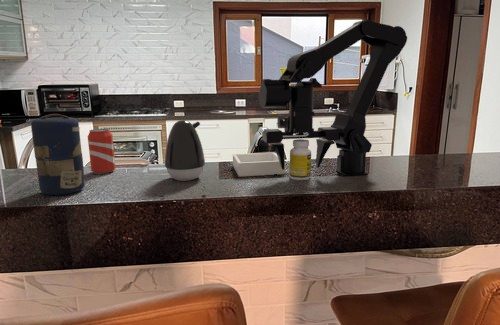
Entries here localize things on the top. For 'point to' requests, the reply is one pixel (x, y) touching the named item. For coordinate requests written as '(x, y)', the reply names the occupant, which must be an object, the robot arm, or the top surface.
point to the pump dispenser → (184, 152)
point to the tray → (257, 164)
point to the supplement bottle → (300, 160)
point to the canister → (58, 154)
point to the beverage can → (101, 151)
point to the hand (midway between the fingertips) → (300, 168)
